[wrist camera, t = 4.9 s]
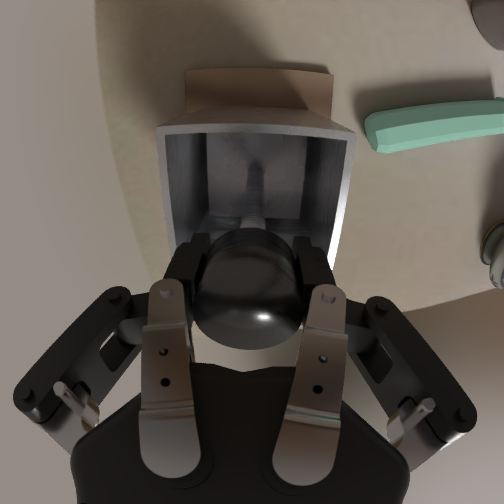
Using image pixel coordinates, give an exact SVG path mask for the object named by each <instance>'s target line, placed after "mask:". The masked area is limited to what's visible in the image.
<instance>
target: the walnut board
mask: <svg viewBox="0 0 504 504" xmlns="http://www.w3.org/2000/svg"><path fill="white" fill-rule="evenodd" d="M333 80H334V75H331V74H324V73H317V72H309V71H299V70H288V69H273V68H208V69H193V70H185V95H186V114H189V113H190V112H191V111H197V110H200V109H202V108H205V107H211V106H258V107H279V108H294V109H305V110H310V111H313V112H315V113H317V114H319V115H321V116H323V117H326V118H328V119H330V120H331V108H332V95H333Z"/></svg>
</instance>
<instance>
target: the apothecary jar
mask: <svg viewBox="0 0 504 504" xmlns="http://www.w3.org/2000/svg"><path fill="white" fill-rule="evenodd" d="M480 258H481V261H482V262H483V263H484V264H486V265H490V280H491V282H492V284H493V285H494V286H495V287H497V288H499V289H504V221H499V222H497V223H496V224H495V225H493V226H492V227H491V229H490V230H489V231H488V232H487V234H486V236H485V237H484V239H483V242H482V245H481V249H480Z"/></svg>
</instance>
